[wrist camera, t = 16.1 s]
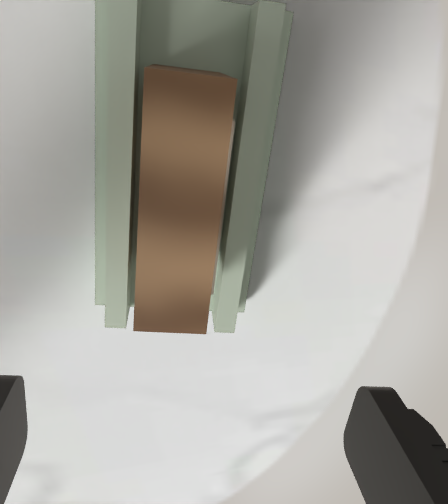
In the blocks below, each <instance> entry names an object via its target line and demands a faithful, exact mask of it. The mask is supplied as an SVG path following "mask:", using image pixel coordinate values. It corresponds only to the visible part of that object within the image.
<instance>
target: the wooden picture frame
mask: <svg viewBox="0 0 448 504" xmlns="http://www.w3.org/2000/svg"><path fill="white" fill-rule="evenodd" d="M237 80H238V79H236V78H233V77H231V76H228V75H225V74H223V73H220V72H213V71H205V70H197V69H190V68H182V67H174V66H166V65H158V64H152V65H149V66H146V67H144V83H143V108H142V132H141V157H140V181H139V206H138V230H137V255H136V279H135V303H134V328H133V331H143V332H167V333H191V334H206V331H207V323H208V315H209V306H210V298H211V294H212V295H213V293H214V285H215V277H216V269H217V261H218V253H219V245H220V238H221V230H222V222H223V214H224V206H225V198H226V190H227V182H228V174H229V166H230V158H231V150H232V142H233V134H234V127H235V121H234V120H233V112H234V104H235V96H236V88H237Z"/></svg>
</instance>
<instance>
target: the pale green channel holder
mask: <svg viewBox="0 0 448 504" xmlns="http://www.w3.org/2000/svg"><path fill="white" fill-rule="evenodd" d="M285 8H286V4H285V3H279V2H273V1H266V0H258V1H257V2H255V3H254V4H253V5H246V4H239V3H233V2H226V1H220V0H95V305H105V327H108V328H126V325H127V319H128V314H129V309H130V307H134V303H135V279H136V255H137V230H138V206H139V181H140V157H141V132H142V108H143V83H144V67H146V66H149V65H152V64H158V65H166V66H174V67H182V68H190V69H197V70H205V71H213V72H220V73H223V74H225V75H228V76H231V77H233V78H236V79H238V80H237V88H236V96H235V104H234V112H233V120H234V121H235V127H234V134H233V142H232V150H231V158H230V166H229V174H228V182H227V190H226V198H225V206H224V214H223V222H222V230H221V238H220V245H219V253H218V261H217V269H216V277H215V285H214V293H213V295H212V294H211V298H210V306H209V311H212V316H213V323H214V331H215V332H222V333H234V331H235V325H236V318H237V312H244V310H245V304H246V298H247V292H248V286H249V279H250V273H251V267H252V261H253V255H254V249H255V243H256V237H257V231H258V225H259V219H260V213H261V207H262V201H263V195H264V189H265V183H266V177H267V171H268V164H269V158H270V152H271V146H272V140H273V134H274V128H275V122H276V116H277V110H278V104H279V98H280V92H281V86H282V80H283V74H284V68H285V62H286V56H287V50H288V43H289V37H290V31H291V25H292V19H293V13H294V12H291V11H285Z"/></svg>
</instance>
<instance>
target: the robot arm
mask: <svg viewBox="0 0 448 504" xmlns="http://www.w3.org/2000/svg"><path fill="white" fill-rule="evenodd" d="M27 428H28V426H27V413H26V401H25V388H24V380H23V377H22V376H12V375H0V504H4V502H5V500H6V497H7V495H8V492H9V489H10V487H11V484H12V482H13V479H14V476H15V474H16V471H17V469H18V466H19V464H20V461H21V458H22V456H23V453H24V449H25V445H26V439H27ZM344 449H345V454H346V457H347V460H348V462H349V464H350V467H351V469H352V471H353V474H354V476H355V479H356V480H357V483H358V486H359V488H360V490H361V493H362V495H363V497H364V500H365V502H366V504H448V449H447V448H446V444H445V443H444V441H443V440H442V438H441V437H440V436H439V434H438V433H437V431H436V430H435V429H434V427H433V426H432V425H431V424H430V423H429V422H428V421H426V420H425V419H424V418H423V417H422V416H421V415H420V414H418V413H417V412H416V411H415V410H414V409H407V407H406V406H405V404H404V403H403V401H402V400H401V398H400V397H399V395H398V394H397V392H396V391H395V390H394V389H393V388H391V387H367V386H366V387H365V386H362V387H360V388H359V389H358V391H357V393H356V396H355V399H354V402H353V406H352V409H351V412H350V415H349V418H348V421H347V424H346V428H345V431H344Z"/></svg>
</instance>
